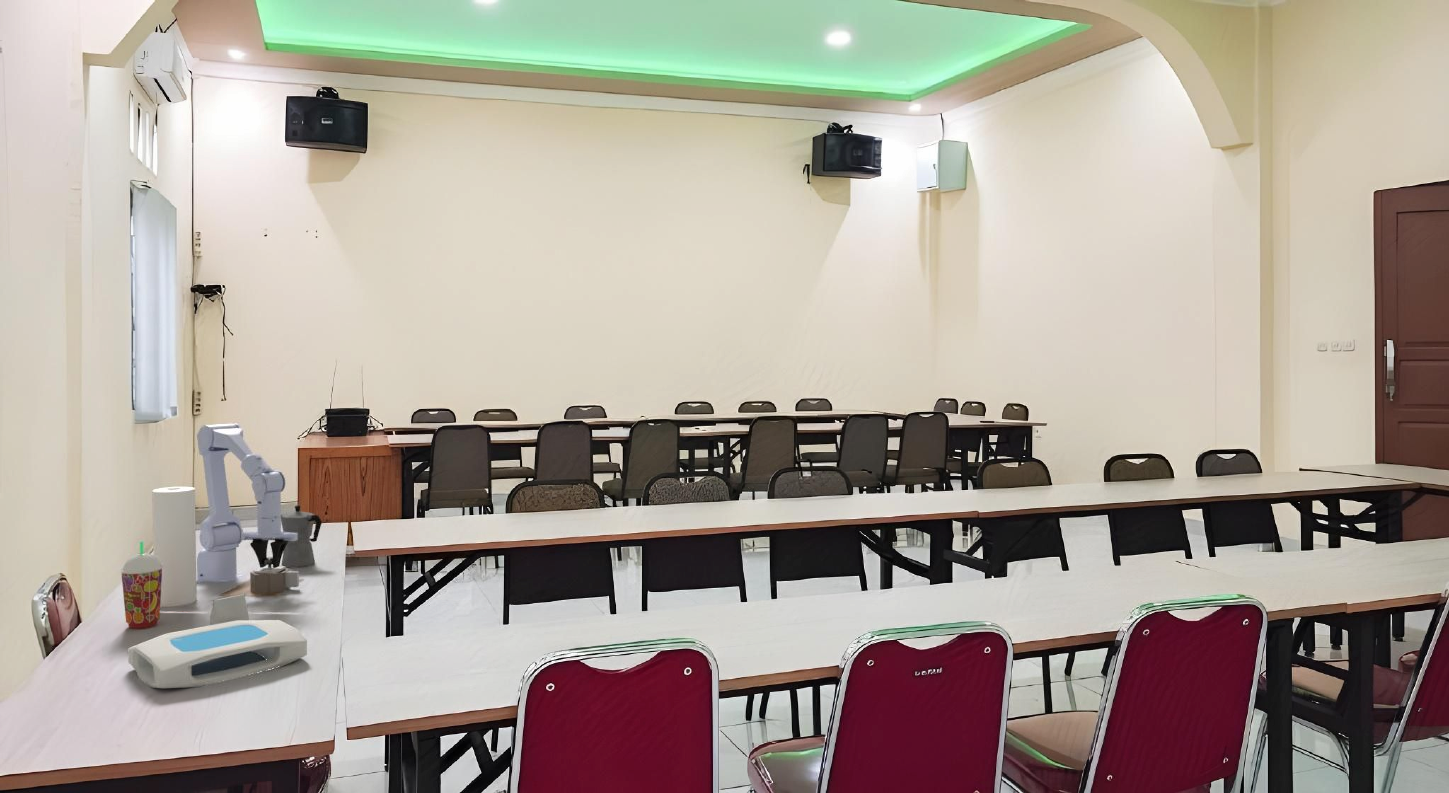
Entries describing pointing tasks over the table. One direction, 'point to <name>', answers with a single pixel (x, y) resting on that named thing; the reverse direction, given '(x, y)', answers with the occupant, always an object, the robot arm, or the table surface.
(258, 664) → the document scanner
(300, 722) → the table surface
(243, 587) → the board
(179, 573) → the cylinder container
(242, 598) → the tea bag
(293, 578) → the grey faceted block
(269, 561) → the plunger
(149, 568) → the smoothie
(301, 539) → the coffeepot
